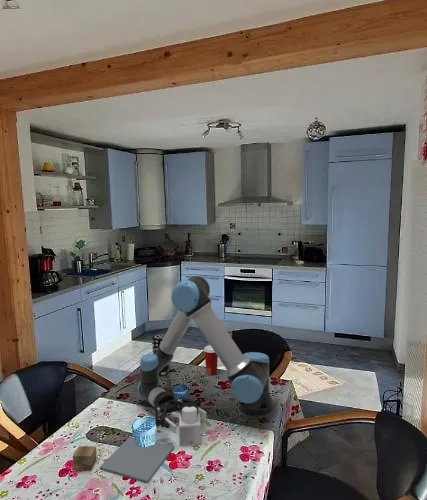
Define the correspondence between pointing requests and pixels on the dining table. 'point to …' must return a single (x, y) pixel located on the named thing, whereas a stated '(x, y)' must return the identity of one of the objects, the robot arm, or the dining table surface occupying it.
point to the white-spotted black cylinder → (156, 343)
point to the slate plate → (137, 460)
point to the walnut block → (84, 458)
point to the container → (189, 425)
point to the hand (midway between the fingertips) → (191, 422)
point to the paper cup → (210, 360)
